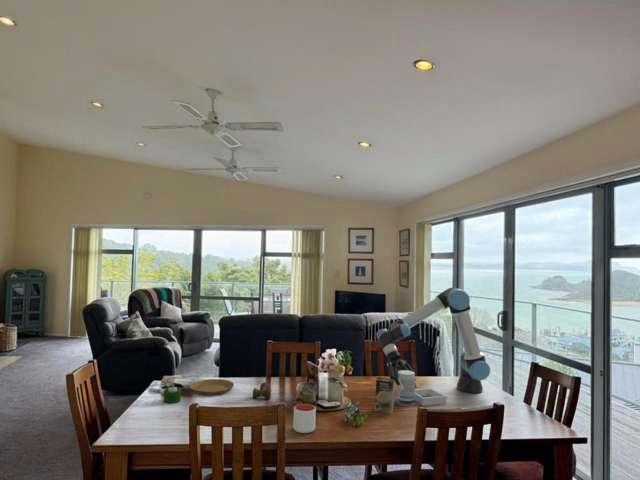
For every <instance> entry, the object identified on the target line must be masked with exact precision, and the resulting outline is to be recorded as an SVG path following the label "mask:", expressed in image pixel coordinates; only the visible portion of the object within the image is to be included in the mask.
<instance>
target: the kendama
mask: <svg viewBox="0 0 640 480" xmlns="http://www.w3.org/2000/svg"><path fill="white" fill-rule="evenodd" d="M271 389H272V388H271V387H270V385H269V383H268V382H262V383H260V387H259V389H258V388H256V387H254V388H253V390H252V398H253V399H254V400H256V399H257V398H262V397H263V398H265V399H267V400H270V399H271V397H272V394H271V393H272V390H271Z"/></svg>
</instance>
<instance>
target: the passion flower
mask: <svg viewBox="0 0 640 480" xmlns="http://www.w3.org/2000/svg"><path fill="white" fill-rule="evenodd" d="M359 404H360V401H357V402H353V403H351V404H350V402H347V403H346V404H345V405H344V407H343V408H342V410H345V409H346V410H345V411H344V412H343V417H344V423H346V422H348V420H349V419H351V421H352V426H353V427H354V428H356V425H357V426H358V427H359V426H360V425H362V424H363V422H364V420H367V418H368V414H367V413H365V414H362V413H361V412H360V406H359Z"/></svg>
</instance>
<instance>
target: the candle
mask: <svg viewBox="0 0 640 480" xmlns="http://www.w3.org/2000/svg"><path fill="white" fill-rule="evenodd" d="M163 392H164V394H163V403H164V404H168V405H174V404H178V403H180V402H181V399H182V398H181V395H182V390H181V389H180V388H178V387H176V386H175V382H174V381H172V383H171V387H169V388H167V389H165V390H164V391H163Z"/></svg>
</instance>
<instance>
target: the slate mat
mask: <svg viewBox="0 0 640 480" xmlns="http://www.w3.org/2000/svg"><path fill="white" fill-rule="evenodd" d="M395 403H396V404H397V405H398V406H400V407H412V406H421V404H419V403H418V402H416V401H414V400H413V401H403V400H399V399H398V398H397V397H396V398H395V397H394V404H395Z"/></svg>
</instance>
